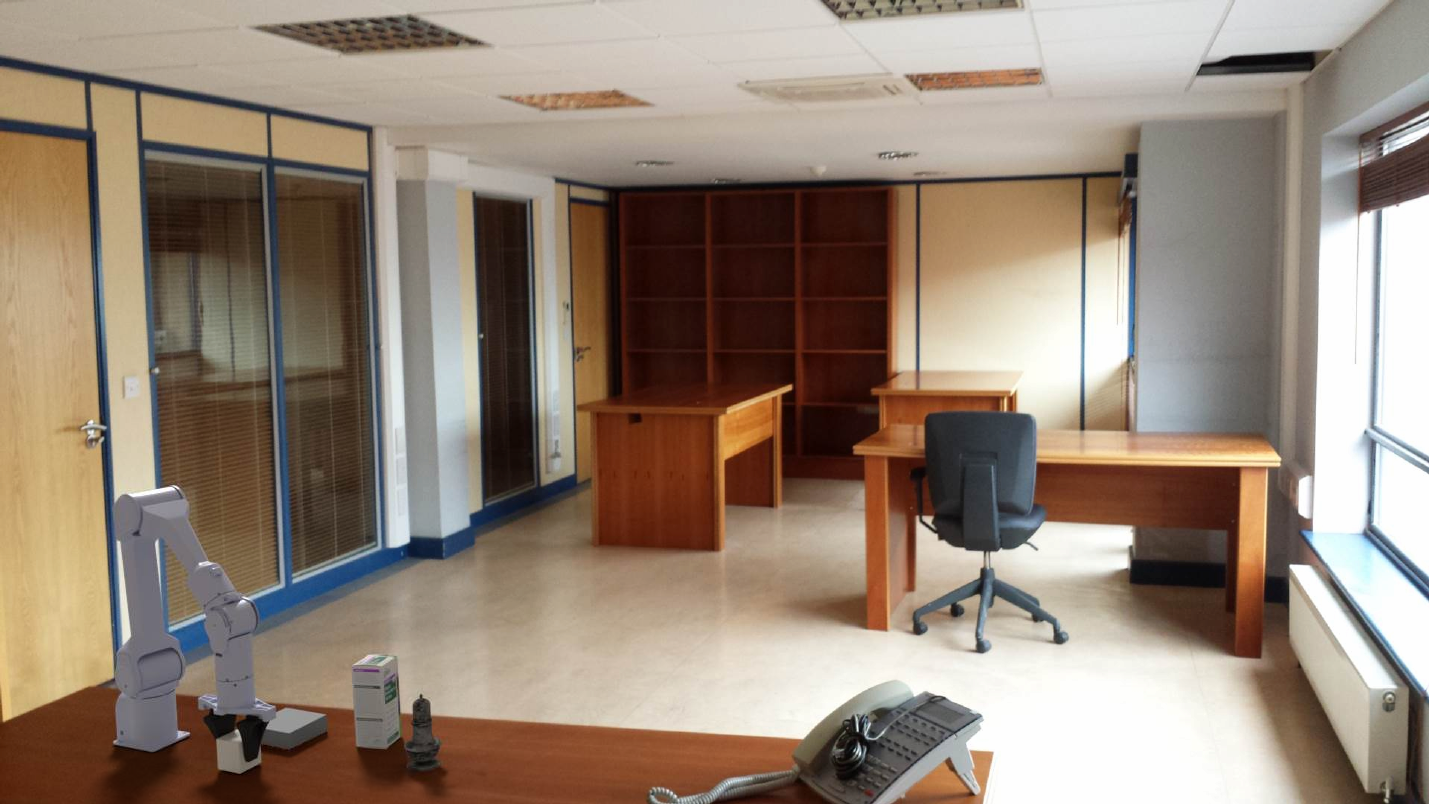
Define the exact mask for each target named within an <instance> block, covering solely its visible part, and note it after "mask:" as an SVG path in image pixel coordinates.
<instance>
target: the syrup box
mask: <svg viewBox="0 0 1429 804" xmlns="http://www.w3.org/2000/svg"><path fill="white" fill-rule="evenodd" d="M398 660H399V659H398V656H397V655H392V654H384V653H382V654H379V653H377V654H376V653H375V654H367V655H366V656H365V657H364V658H362V659H360V660H358V661H357V662H356V663H354V664H352V665H351V666H350V667H351V684H352V699H353V715H354V728H355V729H354V731H355V746H356V747H358V748H365V749H374V750H375V749H379V750H388V748H389V747H390V746H391V745H393V744H394V743H395V742H397V740H399V739H400V738H401V737H402V736H403V732H402V731H403V730H402V715H401V714H402V713H401V711H402V710H401V698H400V697H401V696H400V682H399V681H400V680H399V679H400V677H399V663H398Z"/></svg>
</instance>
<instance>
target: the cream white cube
mask: <svg viewBox="0 0 1429 804" xmlns="http://www.w3.org/2000/svg"><path fill="white" fill-rule="evenodd" d="M216 741H217V744H216V756H217V758H216V759H217V769H218V770H220V771H221V770H222V771H226V772H231V773H236V774H239V775H240V774H242V773H244V772H246V771H247V770H250V769H252V768H254V767H255V766H257V765H259V763H260V764H261V763H262V751H261V748H262V747H261V746H262V745H260V749H259V754H258V758H257V759H255V760H253V761H251V762H246V761H245V758H244V753H243V744H242V739H241V736H240V733H239V731H238V729H237V728H236V729H235V730H234V731H233V732H231V733H228V734H226V735H224V736H222V737H220V738H218V739H216ZM216 741H215V742H216Z"/></svg>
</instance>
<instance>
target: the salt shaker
mask: <svg viewBox="0 0 1429 804" xmlns="http://www.w3.org/2000/svg"><path fill="white" fill-rule="evenodd" d="M411 708H412V719H411V720H410V725H412V737H411V739H410V740H408V741H406V742H405V743H404V745H403V747H404V749H405V750H406V755H407V756H408V758H409V759H411V761H409V762H408V763H407V765H406V769H407V770H409V771H411V772H415V773H424V772H429V771H430V772H431V771H433V770H435V769H437V768H439V767H440V765H441V761H440V760H439V759H438V758H437V755H438V754H439V751H440V749H441V748H440V747H441V745H442V740H441V739H440V738H437V737H435V736H434V734H433V727H432V726H433V725H432V723H433V722H434V718H432V714H431V712H432V711H431V701H430V700H429V698H428V699H427V698H425V697H424V695H423V694H422V693H420V694H419V696H418V698H417V699H415V700H414V701H413V702H412V707H411Z"/></svg>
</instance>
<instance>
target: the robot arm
mask: <svg viewBox="0 0 1429 804" xmlns="http://www.w3.org/2000/svg"><path fill="white" fill-rule="evenodd" d="M187 500H188V499H187V496H186V494H185V493H184V492H183V491H182V489H181V488H180V487H179V486H177V485H173V484H172V485H169V486H166V487H161V488H156V489H150V490H143V491H138V492H132V493H123V494H121V495H119V497H118V498H117V499H116V501H115V502H114V504H113V505H112V507H111V508H112V516H113V517H112V518H113V524H114V525H113V526H114V534H115V539H116V541H117V542H120V543H119V545H120V550H121V561H122V571H123V577H124V585H125V586H124V588H125V594H126V604H127V611H128V612H127V613H128V621H129V629H130V637H129V638H128V639H127V640H126V641H125V643H124V644H123V645H122V646H120V648H119V649H118V650H117V652H116V666H115V672H114V679H115V684H116V687H117V689H118V690H119V691H120V692H121V693H120V694H119V695H118V697H117V698H116V699H117V700H116V702H115V703H116V704H115V708H114V709H115V723H116V724H115V725H116V737H117V738H116V740H113V741H112V742H113V743H112V744H113V745H114V746H120V747H125V748H131V749H136V750H138V751H139V750H140V751H146V752H149V753H154V752H157V751H159V750H161V749H164V748H165V747H168V746H170V745H172V744H174V743H177V742H179V741H181V740H183V739H186V738H188V737H189V736H190V735H191V733H190V732H188V731H181V730H178V729H179V728H178V714H177V697H176V688H178V687H180V681H181V680H182V679H183V677H184V676H185V673H186V670H187V669H186V668H187V666H186V665H187V663H186V659H185V656H184V654H183V652H182V650H181V645H180V640H179V639H178V638H177V637H175V636H174V635H171V634H168V633H166V628H165V620H164V619H165V617H164V610H163V602H162V593H161V591H162V590H161V586H160V584H161V583H160V576H159V565H158V558H157V556H158V555H157V550H156V549H157V548H156V542H157V541H158V539H162V540H163V541H164V542H165V544H166V545H167V546H168V548H169V549H170V550H171V551H172V553H173V555H175V557H176V558H177V560H178V561H179V562H180V564H182V566H183V567H184V569H185V570H186V572H187V573H188V575H187V578H186V582H185V584H186V586H187V588H188V589H189V590H190V592H191V594H192V595H193V597H194V599H195V600H196V602H197V603H198V605H199V607H200V608H201V611H202V612H203V613H204V614H205V621H204V622H203V626H204V631H205V633H206V635H207V637H208V639H209V644H210V645H209V647H210V648H211V652H213V653H214V671H215V672H214V673H215V688H216V695H215V694H208V693H207V694H205V695H202V696H199V697H198V698H197V702H198V703H197V705H198V706H197V707H198V708H197V709H198V710H199V711H205V710H209V713H208V714H207V715H205V716H203V719H202V720H203V723H204V725H206V726H207V728H208V729H209V731H210V733H211V734H212V736H213V739H214V740H215V743H216V745H217V741H216V739H218V738H220V737H222V736H224V735H226V734H228V733H231V732H233V731H235V730H237V729H238V731H239V733H240V736H241V739H242V744H243V753H244V758H245V761H246V762H251V761H253V760H255V759H257V758H258V754H259V749H260V744H261V741H262V737H263V734H264V732H265V729H266V727H267V725H268V723H269V722H270V721H271V720H273V719H275V718H276V712H277V708H276V707H277V706H275V705H270V703H269V704H268V703H266V702H264V701H262V700H260V699H259V698H257V697H256V689H255V688H256V687H255V686H256V685H255V684H256V683H255V668H254V667H255V665H254V647H253V645H254V644H253V633H254V632H256V631H257V629H258V628H259V625H260V613H259V610H258V607H257V605H256V604H255V601H253V600H252V599H251V598H250V597H247V596H245V595H244V594H243V593H241V592H238V591H237V590H236V588H235V586H234V584H233V583H232V581H231V580H230V579H229V578H230V577H228V576H227V575H228V574H226V572H225V570H224V568H223V566H221V564H219V563H216V562H212V561H209V558H208V556H207V555H206V552H205V550H204V549H203V546H202V544H201V542H200V541H199V539H198V536H197V535H196V532H195V531H194V528H193V527H192V524H191V523H190V521H189V517H190V509H191V508H190V507H191V506H190V503H189V501H187ZM238 716H243V717H245V718H243V719H242V720H238V721H237V722H236V720H237V717H238ZM235 727H236V729H235Z"/></svg>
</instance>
